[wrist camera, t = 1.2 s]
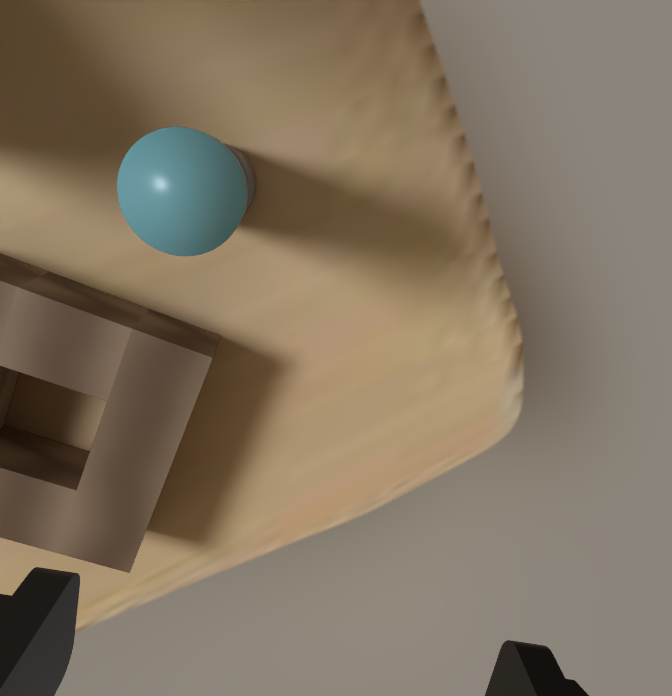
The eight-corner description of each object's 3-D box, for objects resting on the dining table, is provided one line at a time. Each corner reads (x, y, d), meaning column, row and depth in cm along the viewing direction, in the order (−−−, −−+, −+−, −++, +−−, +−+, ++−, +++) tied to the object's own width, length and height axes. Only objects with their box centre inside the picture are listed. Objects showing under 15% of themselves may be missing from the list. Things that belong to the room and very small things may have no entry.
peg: (167, 203, 31) (101, 227, 19) (193, 127, 30) (139, 104, 18) (241, 234, 32) (219, 274, 20) (269, 161, 31) (263, 159, 19)
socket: (-88, 462, 34) (-134, 500, 30) (-32, 242, 30) (-76, 253, 27) (145, 530, 37) (129, 573, 33) (220, 335, 33) (212, 357, 29)
